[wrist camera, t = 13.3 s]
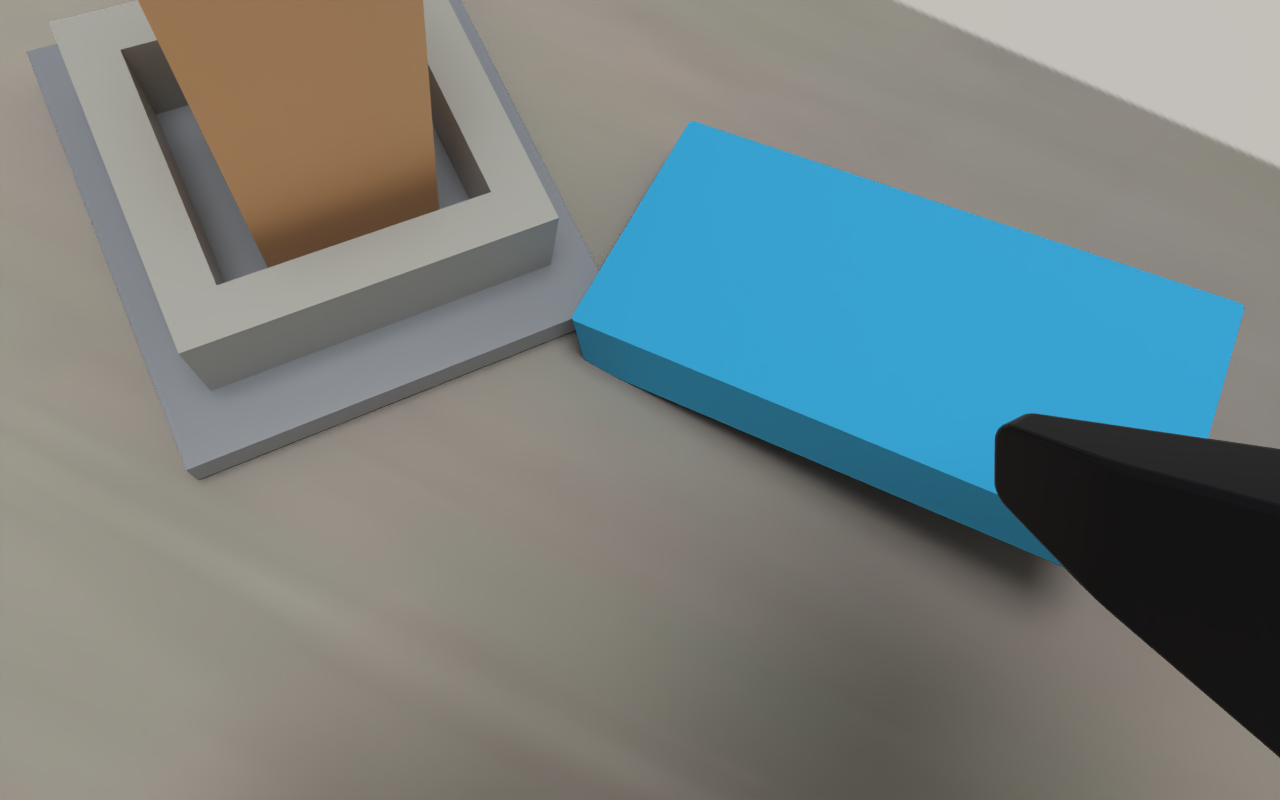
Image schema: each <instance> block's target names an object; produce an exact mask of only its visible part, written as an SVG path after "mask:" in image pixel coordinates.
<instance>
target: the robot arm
mask: <svg viewBox="0 0 1280 800" xmlns="http://www.w3.org/2000/svg"><path fill="white" fill-rule="evenodd" d="M994 484H995V489H996V492H997V494H998V496H999V498H1000V500H1001V501H1002V503H1003V504H1004V505H1005V506H1006V507H1007V508H1008V509H1009V511H1010V512H1011V513H1012V514H1013V515H1014V516H1015V517H1016V518H1017V519H1018V520H1019V521H1020V522H1021V523H1022V524H1023V525H1024V526H1025V527H1026V528H1027V529H1028V530H1029V531H1030V532H1031V533H1032V534H1033V535H1034V537H1035V538H1036V539H1037V540H1038V541H1039V542H1040V543H1041V544H1042V545H1043V546H1044V547H1045V548H1046V549H1047V550H1048V551H1049V552H1050V553H1051V554H1052V555H1053V556H1054V557H1055V558H1056V559H1057V560H1058V561H1059V562H1060V564H1061V565H1062V566H1063V567H1064V568H1065V569H1066V570H1067V571H1068V572H1069V573H1070V574H1071V575H1072V576H1073V577H1074V578H1075V579H1076V580H1077V581H1078V582H1079V583H1080V584H1081V585H1082V586H1083V587H1084V588H1085V589H1086V590H1087V591H1088V592H1089V593H1090V594H1091V595H1092V596H1093V597H1094V598H1095V599H1096V600H1097V601H1098V602H1099V603H1100V604H1102V605H1103V606H1104V607H1105V608H1106V609H1107V610H1108V611H1109V612H1110V613H1112V614H1113V615H1114V616H1115V617H1116V618H1117V619H1119V620H1120V621H1121V622H1122V623H1123V624H1124V625H1126V626H1127V627H1128V628H1129V629H1130V630H1131V631H1133V632H1134V633H1135V634H1136V635H1137V636H1138V637H1140V638H1141V639H1142V640H1143V641H1144V642H1145V643H1147V644H1148V645H1149V646H1150V647H1151V648H1152V649H1154V650H1155V651H1156V652H1157V653H1158V654H1159V655H1161V656H1162V657H1163V658H1164V659H1165V660H1166V661H1168V662H1169V663H1170V664H1171V665H1172V666H1173V667H1175V668H1176V669H1177V670H1178V671H1179V672H1180V673H1182V674H1183V675H1184V676H1185V677H1186V678H1187V679H1189V680H1190V681H1191V682H1192V683H1193V684H1194V685H1196V686H1197V687H1198V688H1199V689H1200V690H1201V691H1203V692H1204V693H1205V694H1206V695H1207V696H1208V697H1210V698H1211V699H1212V700H1213V701H1214V702H1215V703H1217V704H1218V705H1219V706H1220V707H1221V708H1222V709H1224V710H1225V711H1226V712H1227V713H1228V714H1229V715H1231V716H1232V717H1233V718H1234V719H1235V720H1236V721H1238V722H1239V723H1240V724H1241V725H1242V726H1243V727H1245V728H1246V729H1247V730H1248V731H1249V732H1250V733H1252V734H1253V735H1254V736H1255V737H1256V738H1257V739H1259V740H1260V741H1261V742H1262V743H1263V744H1264V745H1266V746H1267V747H1268V748H1269V749H1270V750H1271V751H1273V752H1274V753H1275V754H1276V755H1277V756H1278V757H1280V449H1276V448H1269V447H1262V446H1255V445H1249V444H1242V443H1235V442H1228V441H1221V440H1214V439H1207V438H1200V437H1194V436H1187V435H1180V434H1173V433H1166V432H1159V431H1152V430H1146V429H1139V428H1132V427H1125V426H1118V425H1111V424H1104V423H1098V422H1091V421H1084V420H1077V419H1070V418H1063V417H1057V416H1050V415H1043V414H1036V413H1028V414H1024V415H1022V416H1020V417H1018V418H1016V419H1014V420H1012V421H1010V422H1008V423H1006V424H1004V425H1002V426H1001V427H999V428H998V430H997V432H996V434H995V451H994Z"/></svg>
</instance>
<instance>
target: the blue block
mask: <svg viewBox="0 0 1280 800" xmlns="http://www.w3.org/2000/svg"><path fill="white" fill-rule="evenodd" d="M1243 312H1244V306H1243V304H1241V303H1238V302H1235V301H1232V300H1229V299H1226V298H1223V297H1220V296H1217V295H1214V294H1211V293H1208V292H1205V291H1202V290H1199V289H1196V288H1193V287H1190V286H1187V285H1184V284H1181V283H1178V282H1175V281H1172V280H1169V279H1166V278H1163V277H1160V276H1157V275H1154V274H1151V273H1148V272H1145V271H1142V270H1139V269H1136V268H1133V267H1130V266H1127V265H1124V264H1121V263H1118V262H1115V261H1112V260H1109V259H1106V258H1103V257H1100V256H1097V255H1094V254H1091V253H1088V252H1085V251H1082V250H1079V249H1076V248H1073V247H1070V246H1067V245H1064V244H1061V243H1058V242H1055V241H1052V240H1049V239H1046V238H1043V237H1040V236H1037V235H1034V234H1031V233H1028V232H1025V231H1022V230H1019V229H1016V228H1013V227H1010V226H1007V225H1004V224H1001V223H998V222H995V221H992V220H989V219H986V218H983V217H980V216H977V215H974V214H971V213H968V212H965V211H962V210H959V209H956V208H953V207H950V206H947V205H944V204H941V203H938V202H935V201H932V200H929V199H926V198H923V197H920V196H917V195H914V194H911V193H908V192H905V191H902V190H899V189H896V188H893V187H890V186H887V185H884V184H881V183H878V182H875V181H872V180H869V179H866V178H863V177H860V176H857V175H854V174H851V173H848V172H845V171H842V170H839V169H836V168H833V167H830V166H827V165H824V164H821V163H818V162H815V161H812V160H809V159H806V158H803V157H800V156H797V155H794V154H791V153H788V152H784V151H781V150H778V149H775V148H772V147H769V146H766V145H763V144H760V143H757V142H754V141H751V140H748V139H745V138H742V137H739V136H736V135H733V134H730V133H727V132H724V131H721V130H718V129H715V128H712V127H709V126H706V125H703V124H700V123H697V122H694V121H692V122H689V123H688V125H687V127H686V128H685V130H684V132H683V133H682V135H681V137H680V138H679V140H678V142H677V143H676V145H675V147H674V148H673V150H672V152H671V153H670V155H669V157H668V158H667V160H666V161H665V163H664V165H663V166H662V168H661V170H660V171H659V173H658V175H657V176H656V178H655V180H654V181H653V183H652V185H651V186H650V188H649V190H648V191H647V193H646V195H645V196H644V198H643V199H642V201H641V203H640V204H639V206H638V208H637V209H636V211H635V213H634V214H633V216H632V218H631V219H630V221H629V223H628V224H627V226H626V228H625V229H624V231H623V233H622V234H621V236H620V237H619V239H618V241H617V242H616V244H615V246H614V247H613V249H612V251H611V252H610V254H609V256H608V257H607V259H606V261H605V262H604V264H603V266H602V267H601V269H600V271H599V272H598V274H597V276H596V277H595V279H594V280H593V282H592V284H591V285H590V287H589V289H588V290H587V292H586V294H585V295H584V297H583V299H582V300H581V302H580V304H579V305H578V307H577V309H576V310H575V312H574V314H573V315H572V319H573V323H574V326H575V330H576V333H577V337H578V340H579V344H580V347H581V351H582V354H583V358H584V360H586V361H588V362H589V363H591V364H593V365H595V366H597V367H598V368H600V369H602V370H604V371H606V372H608V373H609V374H611V375H613V376H615V377H617V378H618V379H620V380H623V381H625V382H627V383H630V384H632V385H635V386H637V387H639V388H642V389H644V390H646V391H649V392H651V393H653V394H656V395H658V396H661V397H663V398H665V399H668V400H670V401H672V402H675V403H677V404H679V405H682V406H684V407H687V408H689V409H691V410H694V411H696V412H698V413H701V414H703V415H705V416H708V417H710V418H713V419H715V420H717V421H720V422H722V423H724V424H727V425H729V426H731V427H734V428H736V429H739V430H741V431H743V432H746V433H748V434H750V435H753V436H755V437H757V438H760V439H762V440H765V441H767V442H769V443H772V444H774V445H776V446H779V447H781V448H783V449H786V450H788V451H791V452H793V453H795V454H798V455H800V456H802V457H805V458H807V459H810V460H812V461H814V462H817V463H819V464H821V465H824V466H826V467H828V468H831V469H833V470H836V471H838V472H840V473H843V474H845V475H847V476H850V477H852V478H854V479H857V480H859V481H862V482H864V483H866V484H869V485H871V486H873V487H876V488H878V489H880V490H883V491H885V492H888V493H890V494H892V495H895V496H897V497H899V498H902V499H904V500H906V501H909V502H911V503H914V504H916V505H918V506H921V507H923V508H925V509H928V510H930V511H932V512H935V513H937V514H940V515H942V516H944V517H947V518H949V519H951V520H954V521H956V522H958V523H961V524H963V525H966V526H968V527H970V528H973V529H975V530H977V531H980V532H982V533H984V534H987V535H989V536H992V537H994V538H996V539H999V540H1001V541H1003V542H1006V543H1008V544H1010V545H1013V546H1015V547H1018V548H1020V549H1022V550H1025V551H1027V552H1029V553H1032V554H1034V555H1036V556H1039V557H1041V558H1044V559H1046V560H1048V561H1051V562H1053V563H1055V564H1058V565H1060V566H1062V565H1061V564H1060V562H1059V561H1058V560H1057V559H1056V558H1055V557H1054V556H1053V555H1052V554H1051V553H1050V552H1049V551H1048V550H1047V549H1046V548H1045V547H1044V546H1043V545H1042V544H1041V543H1040V542H1039V541H1038V540H1037V539H1036V538H1035V537H1034V535H1033V534H1032V533H1031V532H1030V531H1029V530H1028V529H1027V528H1026V527H1025V526H1024V525H1023V524H1022V523H1021V522H1020V521H1019V520H1018V519H1017V518H1016V517H1015V516H1014V515H1013V514H1012V513H1011V512H1010V511H1009V509H1008V508H1007V507H1006V506H1005V505H1004V504H1003V503H1002V501H1001V500H1000V498H999V496H998V494H997V492H996V489H995V484H994V451H995V434H996V432H997V430H998V428H999V427H1001V426H1002V425H1004V424H1006V423H1008V422H1010V421H1012V420H1014V419H1016V418H1018V417H1020V416H1022V415H1024V414H1028V413H1036V414H1043V415H1050V416H1057V417H1063V418H1070V419H1077V420H1084V421H1091V422H1098V423H1104V424H1111V425H1118V426H1125V427H1132V428H1139V429H1146V430H1152V431H1159V432H1166V433H1173V434H1180V435H1187V436H1194V437H1200V438H1207V439H1208V436H1209V433H1210V429H1211V425H1212V422H1213V418H1214V415H1215V411H1216V408H1217V404H1218V401H1219V397H1220V394H1221V390H1222V386H1223V383H1224V379H1225V376H1226V372H1227V369H1228V365H1229V362H1230V358H1231V354H1232V351H1233V347H1234V344H1235V340H1236V337H1237V333H1238V330H1239V326H1240V323H1241V319H1242V315H1243Z"/></svg>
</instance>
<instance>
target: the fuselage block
mask: <svg viewBox="0 0 1280 800" xmlns="http://www.w3.org/2000/svg"><path fill="white" fill-rule="evenodd" d="M138 2H139V4H140V6H141V8H142V10H143V12H144V14H145V16H146V18H147V20H148V22H149V24H150V26H151V28H152V30H153V32H154V34H155V37H156V39H157V41H158V43H159V45H160V47H161V49H162V51H163V53H164V55H165V57H166V59H167V61H168V63H169V65H170V67H171V69H172V71H173V74H174V76H175V78H176V80H177V82H178V84H179V86H180V88H181V90H182V92H183V94H184V96H185V98H186V100H187V102H188V104H189V106H190V109H191V111H192V113H193V115H194V117H195V119H196V121H197V123H198V125H199V127H200V129H201V131H202V133H203V135H204V137H205V139H206V141H207V144H208V146H209V148H210V150H211V152H212V154H213V156H214V158H215V160H216V162H217V164H218V166H219V168H220V170H221V172H222V174H223V176H224V179H225V181H226V183H227V185H228V187H229V189H230V191H231V193H232V195H233V197H234V199H235V201H236V203H237V205H238V207H239V209H240V211H241V214H242V216H243V218H244V220H245V222H246V224H247V226H248V228H249V230H250V232H251V234H252V236H253V238H254V240H255V242H256V244H257V246H258V248H259V251H260V253H261V255H262V257H263V259H264V261H265V263H266V265H267V267H268V268H269V267H272V266H275V265H278V264H281V263H284V262H287V261H290V260H293V259H296V258H299V257H301V256H304V255H307V254H310V253H313V252H316V251H319V250H322V249H325V248H328V247H331V246H334V245H337V244H340V243H343V242H346V241H348V240H351V239H354V238H357V237H360V236H363V235H366V234H369V233H372V232H375V231H378V230H381V229H384V228H387V227H390V226H393V225H396V224H398V223H401V222H404V221H407V220H410V219H413V218H416V217H419V216H422V215H425V214H428V213H431V212H434V211H437V210H439V203H438V189H437V176H436V163H435V150H434V137H433V124H432V111H431V98H430V85H429V72H428V59H427V46H426V33H425V20H424V6H423V0H138Z"/></svg>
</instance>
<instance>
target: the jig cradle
mask: <svg viewBox="0 0 1280 800" xmlns="http://www.w3.org/2000/svg"><path fill="white" fill-rule="evenodd" d="M423 6H424V20H425V33H426V46H427V59H428V72H429V85H430V98H431V111H432V124H433V137H434V150H435V163H436V176H437V189H438V203H439V210H437V211H434V212H431V213H428V214H425V215H422V216H419V217H416V218H413V219H410V220H407V221H404V222H401V223H398V224H396V225H393V226H390V227H387V228H384V229H381V230H378V231H375V232H372V233H369V234H366V235H363V236H360V237H357V238H354V239H351V240H348V241H346V242H343V243H340V244H337V245H334V246H331V247H328V248H325V249H322V250H319V251H316V252H313V253H310V254H307V255H304V256H301V257H299V258H296V259H293V260H290V261H287V262H284V263H281V264H278V265H275V266H272V267H269V268H268V267H267V265H266V263H265V261H264V259H263V257H262V255H261V253H260V251H259V248H258V246H257V244H256V242H255V240H254V238H253V236H252V234H251V232H250V230H249V228H248V226H247V224H246V222H245V220H244V218H243V216H242V214H241V211H240V209H239V207H238V205H237V203H236V201H235V199H234V197H233V195H232V193H231V191H230V189H229V187H228V185H227V183H226V181H225V179H224V176H223V174H222V172H221V170H220V168H219V166H218V164H217V162H216V160H215V158H214V156H213V154H212V152H211V150H210V148H209V146H208V144H207V141H206V139H205V137H204V135H203V133H202V131H201V129H200V127H199V125H198V123H197V121H196V119H195V117H194V115H193V113H192V111H191V109H190V106H189V104H188V102H187V100H186V98H185V96H184V94H183V92H182V90H181V88H180V86H179V84H178V82H177V80H176V78H175V76H174V74H173V71H172V69H171V67H170V65H169V63H168V61H167V59H166V57H165V55H164V53H163V51H162V49H161V47H160V45H159V43H158V41H157V39H156V37H155V34H154V32H153V30H152V28H151V26H150V24H149V22H148V20H147V18H146V16H145V14H144V12H143V10H142V8H141V6H140V4H139V2H138V0H137V1H132V2H128V3H124V4H120V5H116V6H112V7H108V8H104V9H100V10H96V11H92V12H88V13H84V14H80V15H76V16H72V17H68V18H64V19H60V20H56V21H52V22H49V24H50V26H51V29H52V32H53V34H54V37H55V39H56V42H57V44H55V45H51V46H47V47H43V48H39V49H35V50H31V51H28V52H27V54H28V57H29V60H30V62H31V65H32V67H33V70H34V73H35V75H36V78H37V80H38V83H39V86H40V88H41V91H42V94H43V96H44V99H45V101H46V104H47V107H48V109H49V112H50V115H51V117H52V120H53V122H54V125H55V128H56V130H57V133H58V135H59V138H60V141H61V143H62V146H63V149H64V151H65V154H66V156H67V159H68V162H69V164H70V167H71V170H72V172H73V175H74V177H75V180H76V183H77V185H78V188H79V190H80V193H81V196H82V198H83V201H84V204H85V206H86V209H87V211H88V214H89V217H90V219H91V222H92V225H93V227H94V230H95V232H96V235H97V238H98V240H99V243H100V245H101V248H102V251H103V253H104V256H105V259H106V261H107V264H108V266H109V269H110V272H111V274H112V277H113V280H114V282H115V285H116V287H117V290H118V293H119V295H120V298H121V300H122V303H123V306H124V308H125V311H126V314H127V316H128V319H129V321H130V324H131V327H132V329H133V332H134V335H135V337H136V340H137V342H138V345H139V348H140V350H141V353H142V355H143V358H144V361H145V363H146V366H147V369H148V371H149V374H150V376H151V379H152V382H153V384H154V387H155V390H156V392H157V395H158V397H159V400H160V403H161V405H162V408H163V410H164V413H165V416H166V418H167V421H168V424H169V426H170V429H171V431H172V434H173V437H174V439H175V442H176V445H177V447H178V450H179V452H180V455H181V458H182V460H183V463H184V465H185V468H186V470H187V471H188V472H189V473H191V474H192V475H193V476H194V477H196V478H197V479H198V480H200V479H202V478H205V477H207V476H210V475H212V474H215V473H217V472H220V471H222V470H225V469H227V468H230V467H232V466H235V465H238V464H240V463H243V462H245V461H248V460H250V459H253V458H255V457H258V456H260V455H263V454H265V453H268V452H270V451H273V450H275V449H278V448H280V447H283V446H285V445H288V444H290V443H293V442H295V441H298V440H300V439H303V438H306V437H308V436H311V435H313V434H316V433H318V432H321V431H323V430H326V429H328V428H331V427H333V426H336V425H338V424H341V423H343V422H346V421H348V420H351V419H353V418H356V417H358V416H361V415H363V414H366V413H368V412H371V411H374V410H376V409H379V408H381V407H384V406H386V405H389V404H391V403H394V402H396V401H399V400H401V399H404V398H406V397H409V396H411V395H414V394H416V393H419V392H421V391H424V390H426V389H429V388H431V387H434V386H436V385H439V384H442V383H444V382H447V381H449V380H452V379H454V378H457V377H459V376H462V375H464V374H467V373H469V372H472V371H474V370H477V369H479V368H482V367H484V366H487V365H489V364H492V363H494V362H497V361H499V360H502V359H505V358H507V357H510V356H512V355H515V354H517V353H520V352H522V351H525V350H527V349H530V348H532V347H535V346H537V345H540V344H542V343H545V342H547V341H550V340H552V339H555V338H557V337H560V336H562V335H565V334H567V333H570V332H573V331H575V326H574V323H573V319H572V315H573V314H574V312H575V310H576V309H577V307H578V305H579V304H580V302H581V300H582V299H583V297H584V295H585V294H586V292H587V290H588V289H589V287H590V285H591V284H592V282H593V280H594V279H595V277H596V276H597V274H598V272H599V270H598V268H597V266H596V264H595V262H594V260H593V258H592V256H591V255H590V253H589V251H588V249H587V247H586V245H585V243H584V241H583V239H582V237H581V235H580V233H579V231H578V229H577V227H576V225H575V223H574V221H573V219H572V217H571V215H570V213H569V211H568V209H567V208H566V206H565V204H564V202H563V200H562V198H561V196H560V194H559V192H558V190H557V188H556V186H555V184H554V182H553V180H552V178H551V176H550V174H549V172H548V170H547V168H546V166H545V164H544V162H543V161H542V159H541V157H540V155H539V153H538V151H537V149H536V147H535V145H534V143H533V141H532V139H531V137H530V135H529V133H528V131H527V129H526V127H525V125H524V123H523V121H522V119H521V117H520V116H519V114H518V112H517V110H516V108H515V106H514V104H513V102H512V100H511V98H510V96H509V94H508V92H507V90H506V88H505V86H504V84H503V82H502V80H501V78H500V76H499V74H498V72H497V70H496V69H495V67H494V65H493V63H492V61H491V59H490V57H489V55H488V53H487V51H486V49H485V47H484V45H483V43H482V41H481V39H480V37H479V35H478V33H477V31H476V29H475V27H474V25H473V23H472V22H471V20H470V18H469V16H468V14H467V12H466V10H465V8H464V6H463V4H462V2H461V0H423Z"/></svg>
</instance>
